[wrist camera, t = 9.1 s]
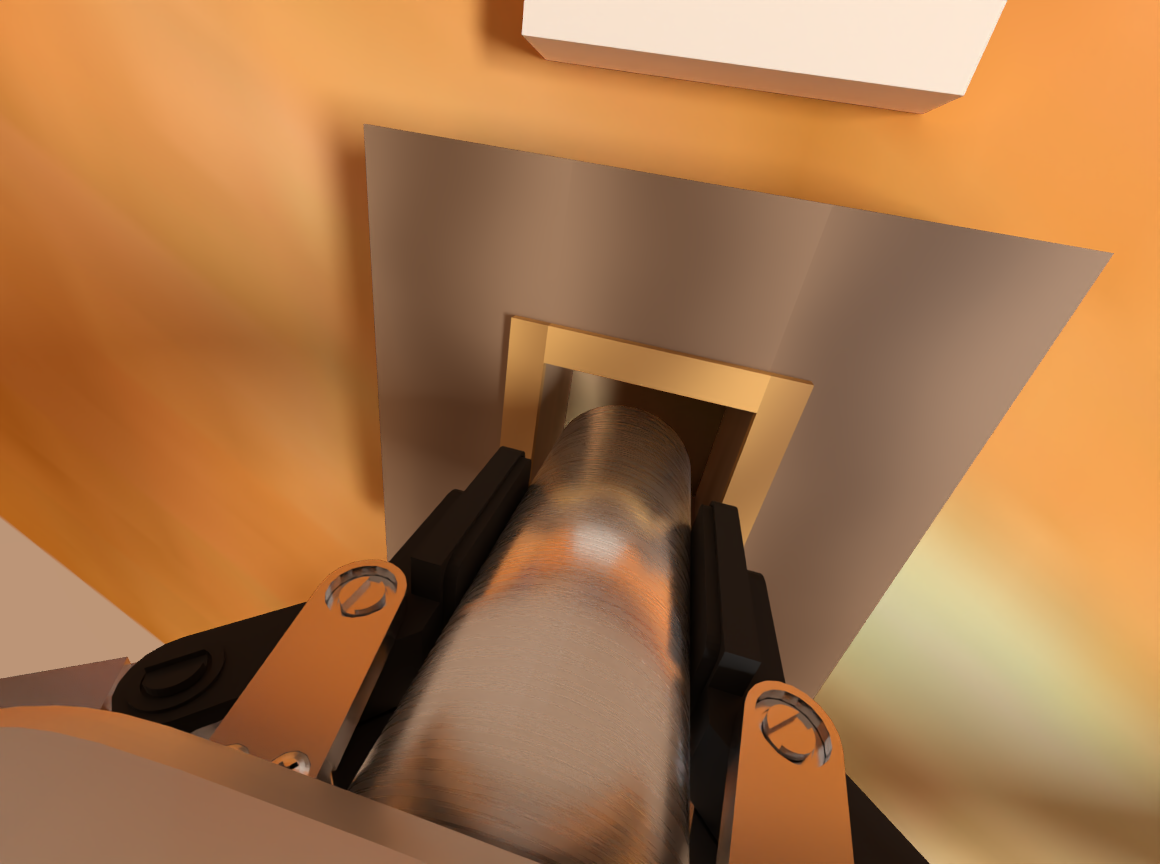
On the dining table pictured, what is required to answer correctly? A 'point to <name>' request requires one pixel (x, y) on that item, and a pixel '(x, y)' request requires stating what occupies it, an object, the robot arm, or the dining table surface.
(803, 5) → the white square base plate
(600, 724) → the peg
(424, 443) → the plate
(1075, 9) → the dining table surface
